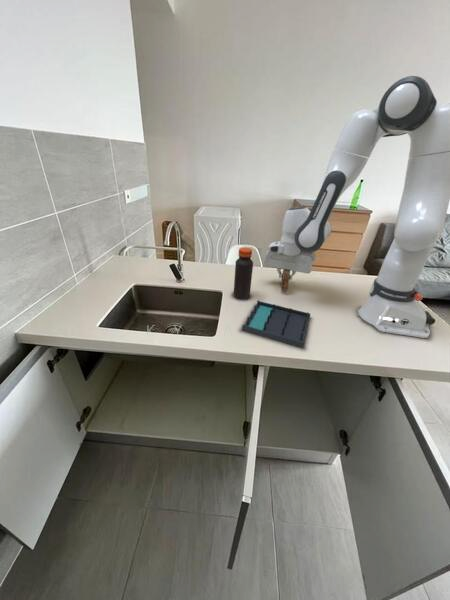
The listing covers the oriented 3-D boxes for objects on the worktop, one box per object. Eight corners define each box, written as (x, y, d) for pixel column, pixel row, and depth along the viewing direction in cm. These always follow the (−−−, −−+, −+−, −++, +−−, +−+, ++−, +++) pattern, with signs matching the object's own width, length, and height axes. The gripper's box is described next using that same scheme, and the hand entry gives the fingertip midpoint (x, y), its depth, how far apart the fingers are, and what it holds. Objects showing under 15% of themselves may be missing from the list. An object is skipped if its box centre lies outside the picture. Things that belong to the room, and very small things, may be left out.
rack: (309, 317, 89) (311, 309, 87) (302, 348, 75) (305, 338, 73) (257, 304, 95) (258, 296, 93) (241, 330, 81) (242, 321, 79)
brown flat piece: (281, 278, 115) (283, 261, 111) (288, 278, 115) (290, 262, 111) (280, 293, 103) (282, 274, 99) (288, 293, 102) (290, 275, 98)
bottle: (237, 290, 105) (240, 245, 95) (252, 294, 103) (257, 248, 92) (230, 297, 100) (233, 250, 89) (246, 301, 97) (250, 253, 87)
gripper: (317, 249, 99) (310, 280, 106) (268, 242, 106) (264, 271, 113) (315, 254, 94) (308, 286, 101) (264, 246, 101) (261, 276, 108)
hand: (285, 278), depth 107 cm, fingers closed on brown flat piece, 3 cm apart
